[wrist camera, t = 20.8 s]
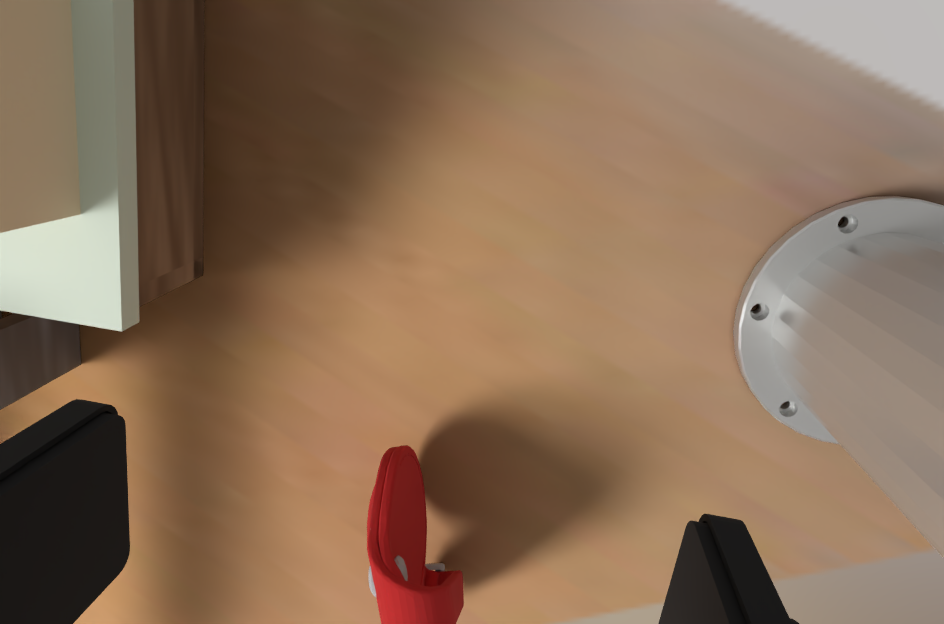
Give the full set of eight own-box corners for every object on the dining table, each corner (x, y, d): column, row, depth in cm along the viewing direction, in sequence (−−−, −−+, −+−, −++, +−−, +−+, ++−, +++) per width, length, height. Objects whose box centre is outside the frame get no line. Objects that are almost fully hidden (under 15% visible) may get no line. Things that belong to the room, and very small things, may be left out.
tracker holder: (380, 416, 36) (325, 526, 27) (458, 412, 36) (430, 521, 26) (410, 594, 40) (371, 747, 30) (481, 592, 39) (464, 748, 30)
